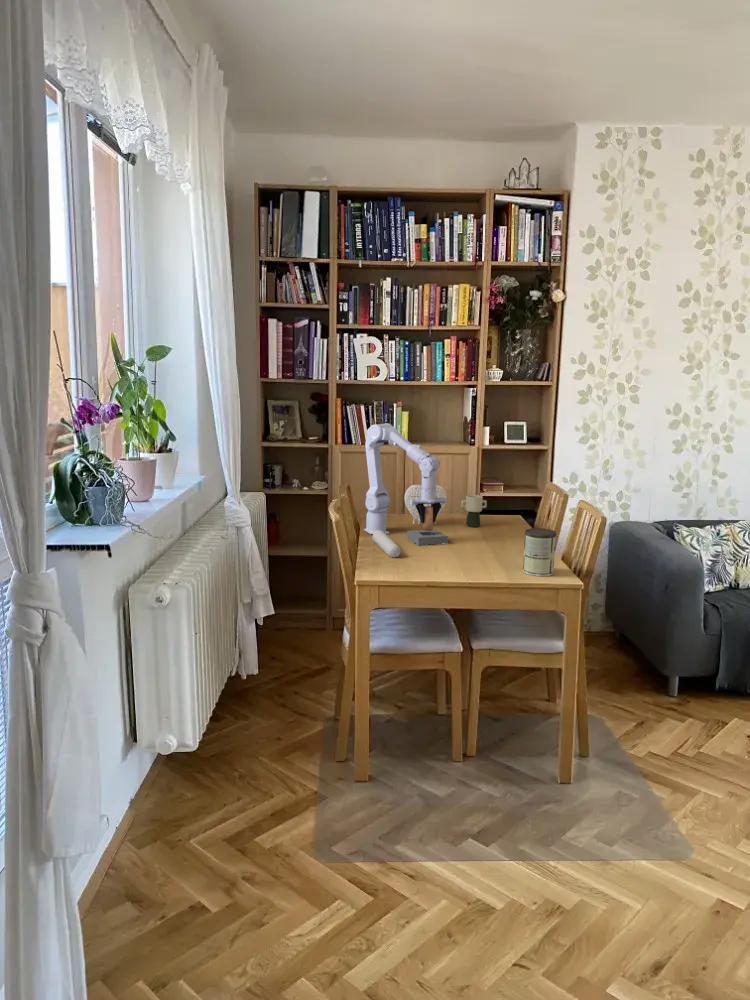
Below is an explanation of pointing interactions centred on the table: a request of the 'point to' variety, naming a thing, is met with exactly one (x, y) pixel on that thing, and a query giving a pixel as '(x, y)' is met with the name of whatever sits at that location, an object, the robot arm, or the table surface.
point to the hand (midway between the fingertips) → (427, 522)
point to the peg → (428, 519)
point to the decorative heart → (416, 493)
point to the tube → (386, 543)
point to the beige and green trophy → (473, 509)
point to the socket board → (427, 537)
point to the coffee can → (539, 552)
